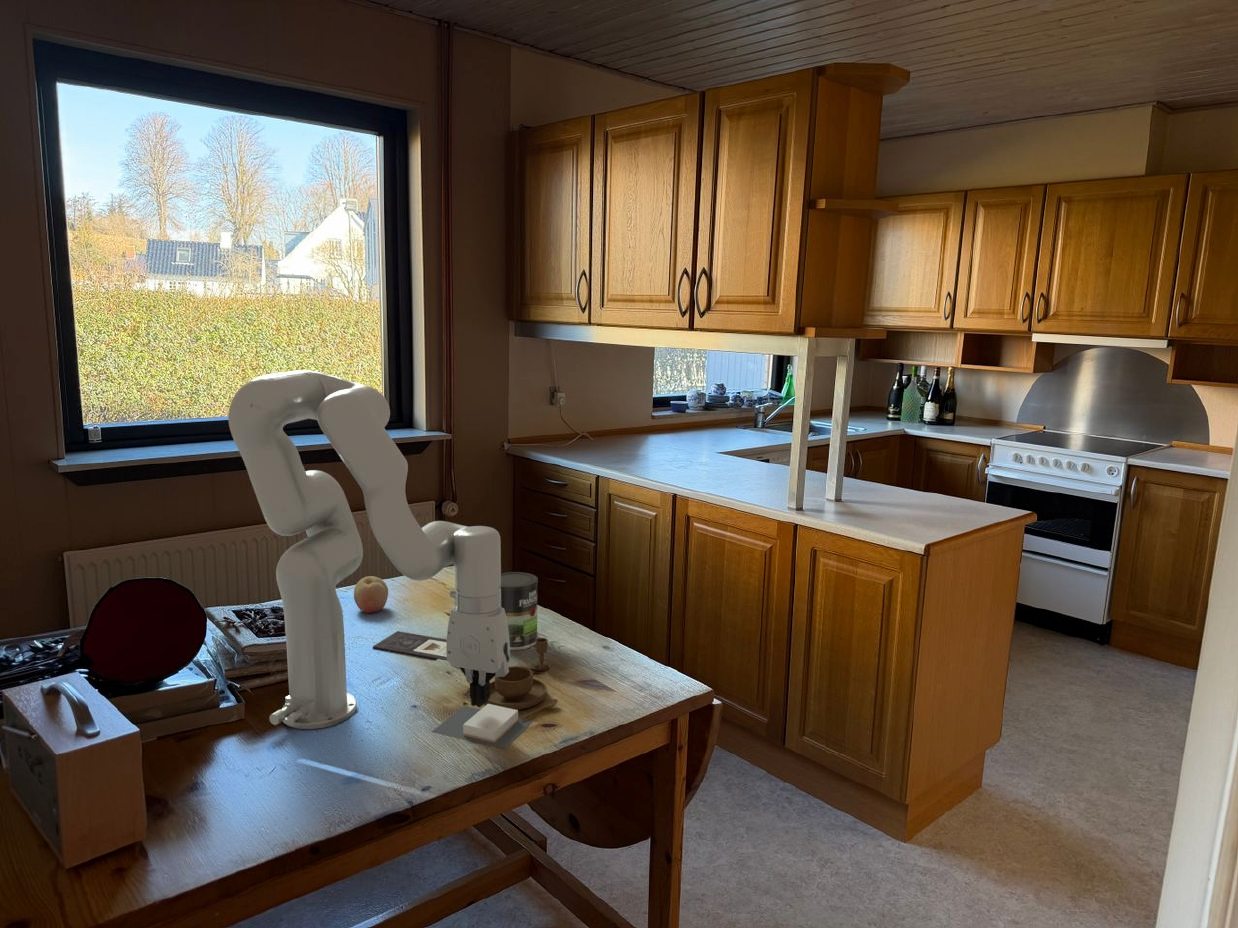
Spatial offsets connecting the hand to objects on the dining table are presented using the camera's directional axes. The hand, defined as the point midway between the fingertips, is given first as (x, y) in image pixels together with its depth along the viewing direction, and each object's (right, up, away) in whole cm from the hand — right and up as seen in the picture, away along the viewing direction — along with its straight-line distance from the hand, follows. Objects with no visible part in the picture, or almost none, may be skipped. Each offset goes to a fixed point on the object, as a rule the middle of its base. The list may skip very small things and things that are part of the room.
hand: (480, 702), depth 141 cm
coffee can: (+1, +2, +38) cm, 38 cm away
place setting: (+7, -2, +14) cm, 16 cm away
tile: (-1, -3, +1) cm, 3 cm away
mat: (0, -5, +1) cm, 5 cm away
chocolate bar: (-18, +1, +34) cm, 38 cm away
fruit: (-35, +6, +54) cm, 64 cm away
